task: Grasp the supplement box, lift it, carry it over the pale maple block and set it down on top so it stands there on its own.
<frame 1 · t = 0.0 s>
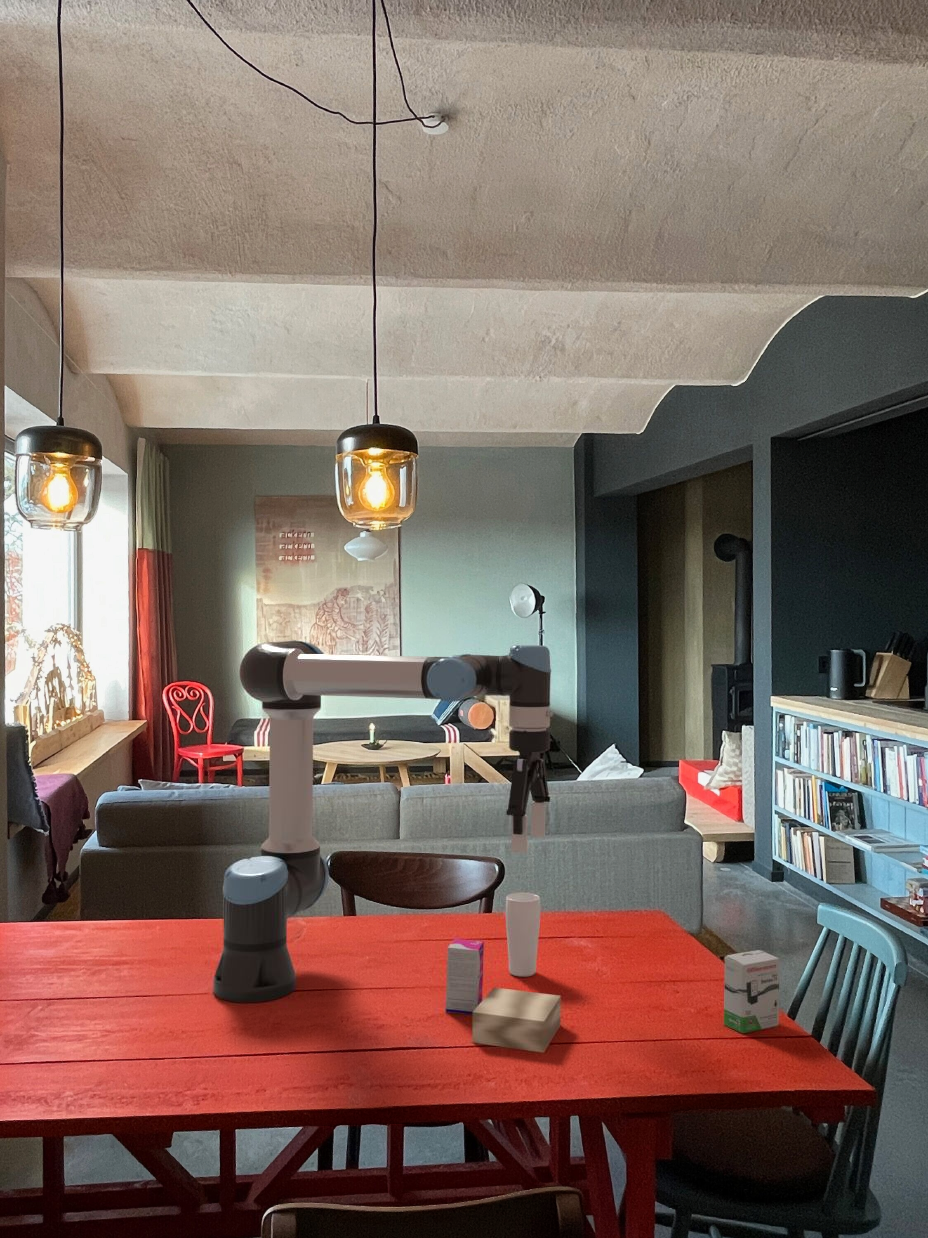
hand: (528, 844, 191), 28 cm above the table, fingers open, 13 cm apart
maple block: (517, 1033, 174), on the table
ink box: (751, 1026, 178), on the table
supplement box: (464, 1009, 185), on the table
drinking glass: (522, 974, 204), on the table
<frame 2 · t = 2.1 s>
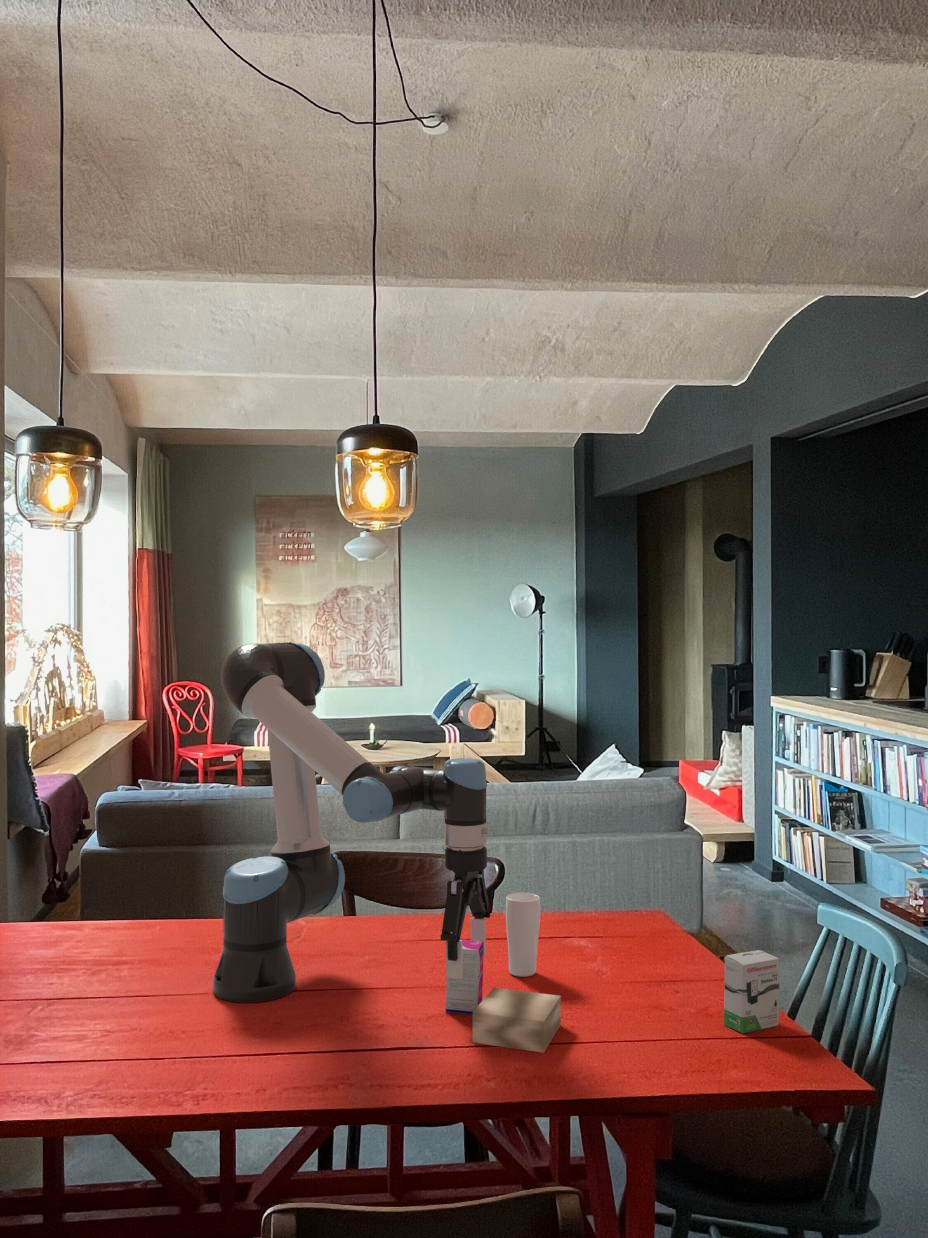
hand: (466, 966, 185), 8 cm above the table, fingers open, 13 cm apart
nothing on the table moved.
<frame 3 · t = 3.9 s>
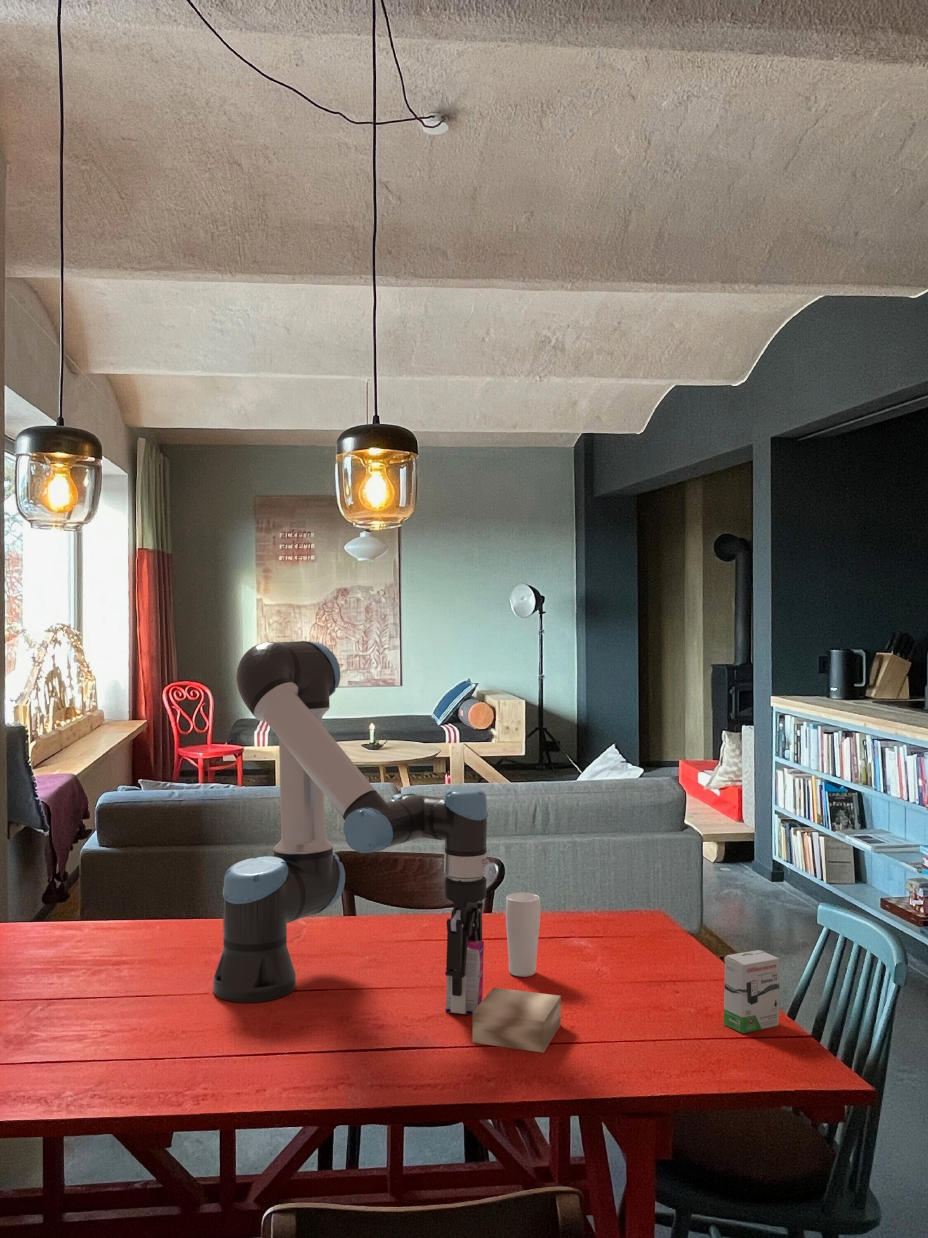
hand: (464, 1005, 185), 0 cm above the table, fingers closed on supplement box, 6 cm apart
supplement box: (464, 1009, 185), on the table, touching gripper
everything else where it was.
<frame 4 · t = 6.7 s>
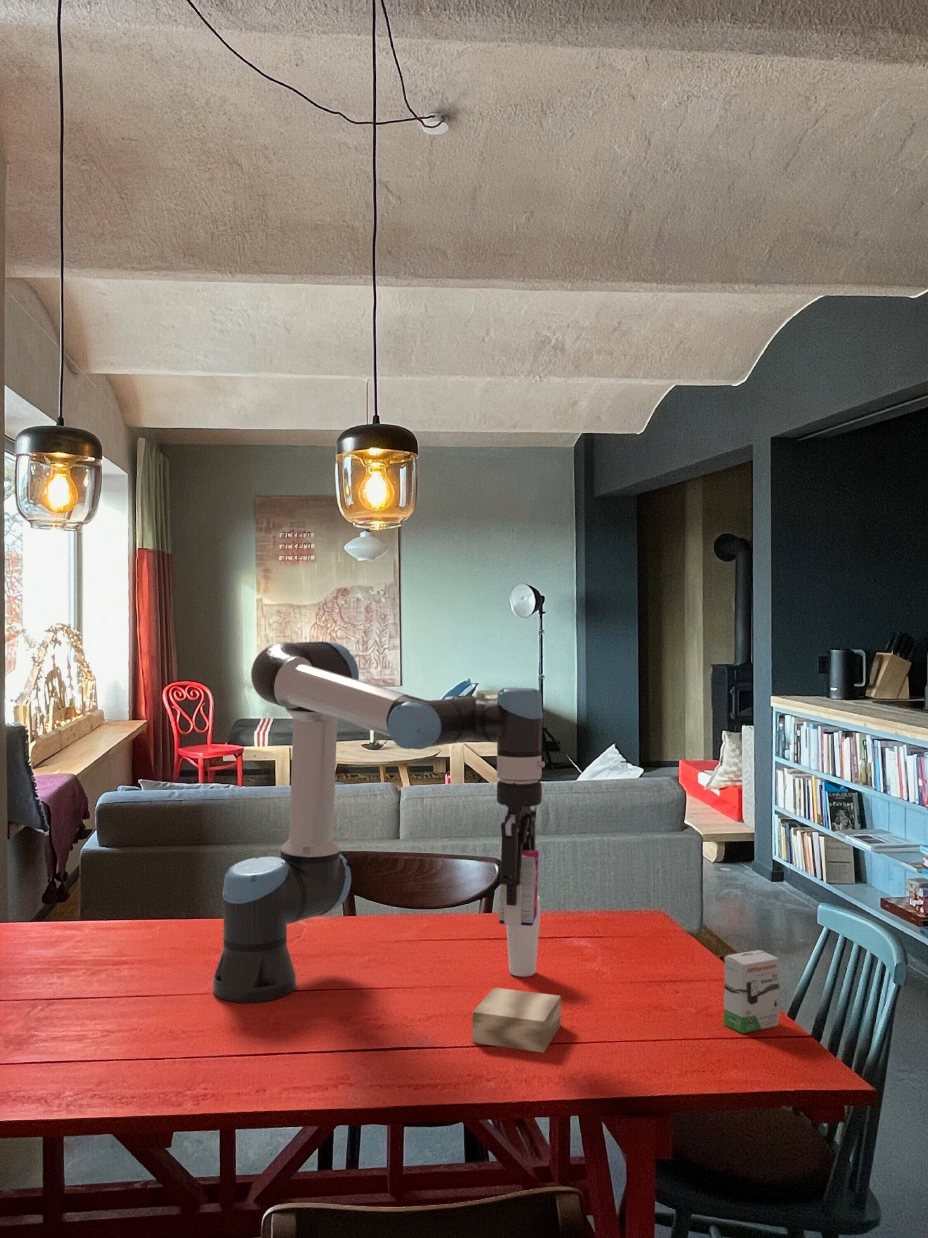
hand: (518, 918, 174), 19 cm above the table, fingers closed on supplement box, 6 cm apart
supplement box: (518, 921, 174), point 19 cm above the table, touching gripper
everything else where it was.
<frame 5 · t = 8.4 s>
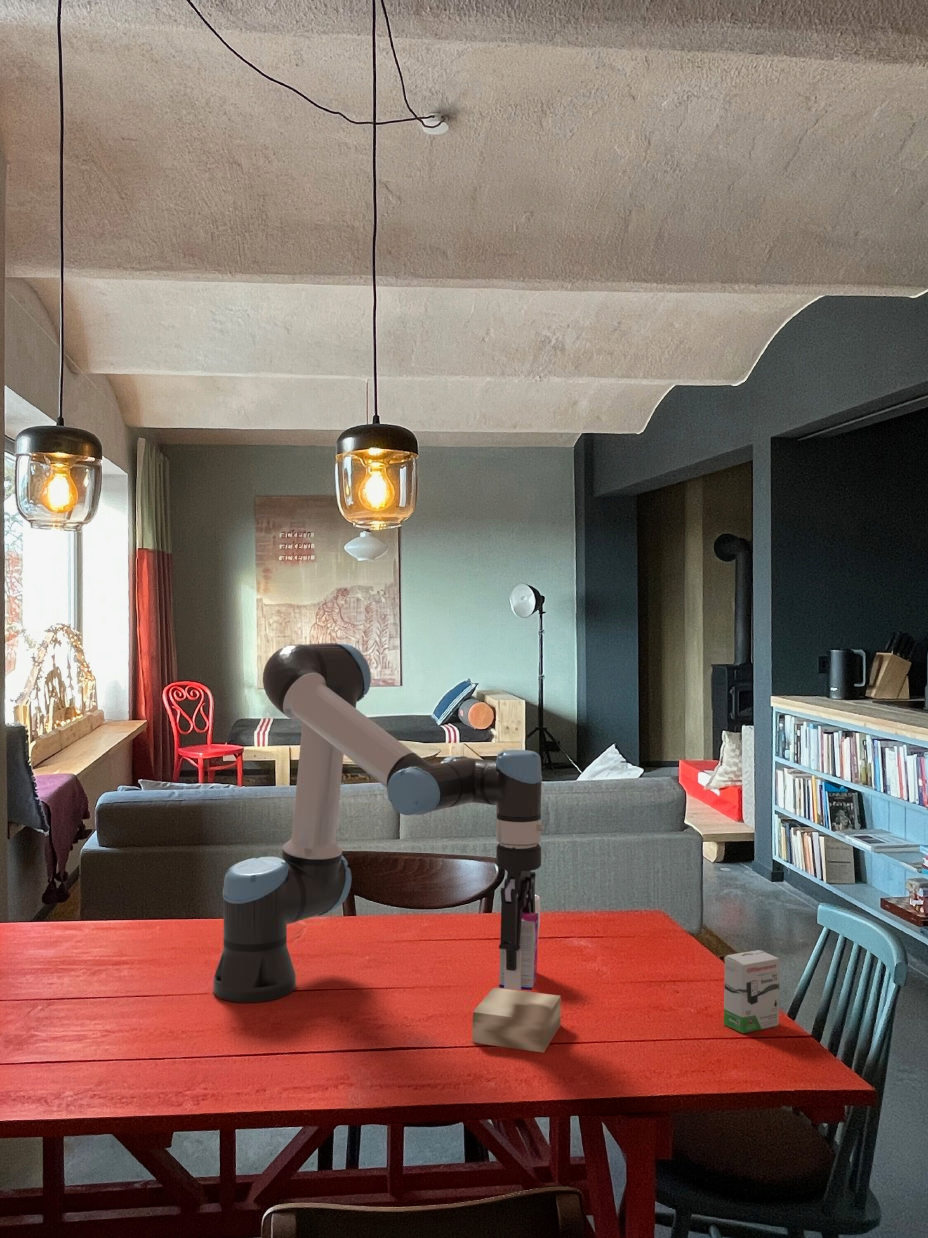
hand: (518, 981, 174), 9 cm above the table, fingers closed on supplement box, 6 cm apart
supplement box: (518, 985, 174), point 8 cm above the table, touching gripper
everything else where it was.
when the fingers open (7 cm above the table, at t = 9.6 s): supplement box drops 1 cm, resting on maple block.
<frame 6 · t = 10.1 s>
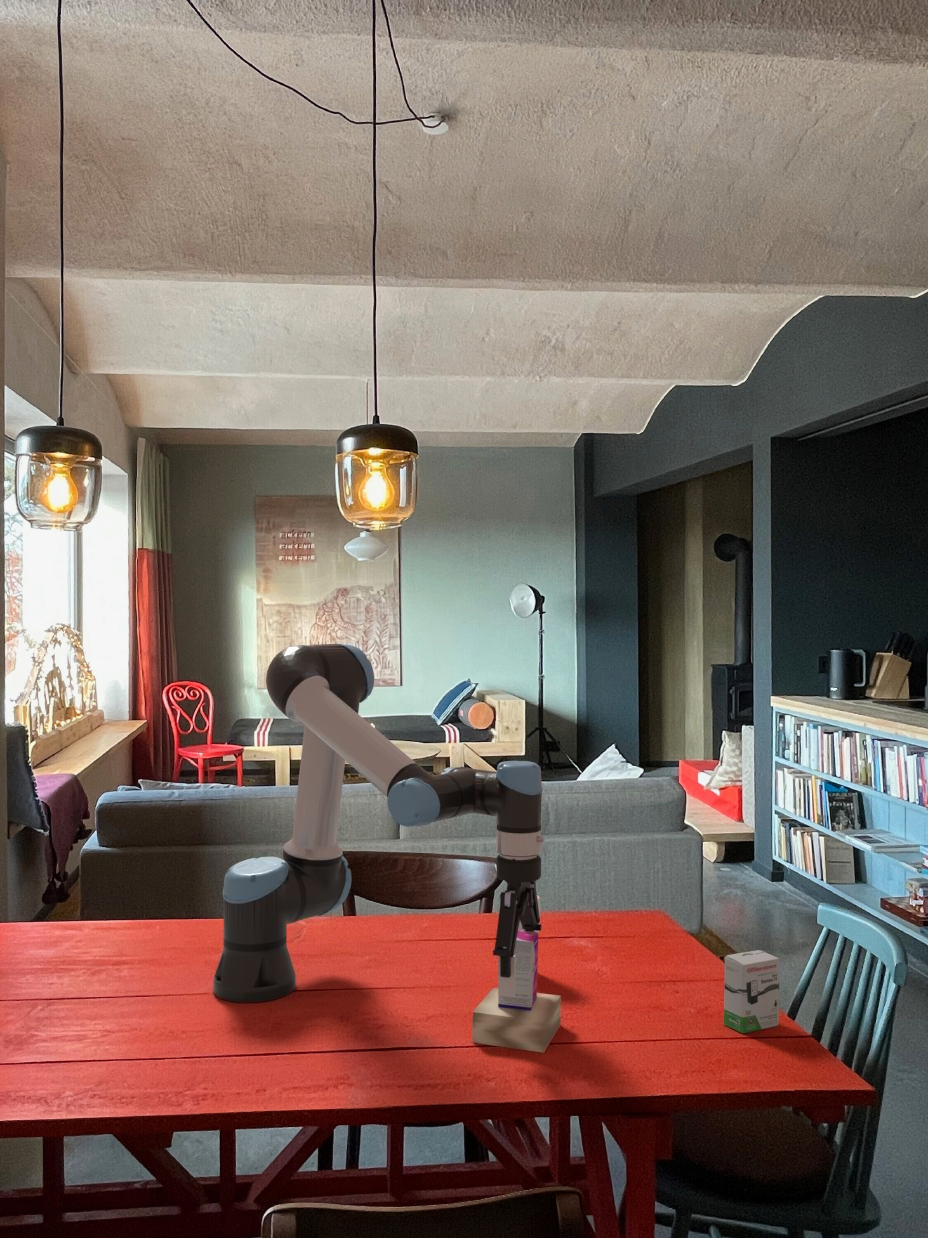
hand: (517, 982, 174), 9 cm above the table, fingers open, 13 cm apart
supplement box: (518, 1004, 174), point 5 cm above the table, touching maple block
everything else where it was.
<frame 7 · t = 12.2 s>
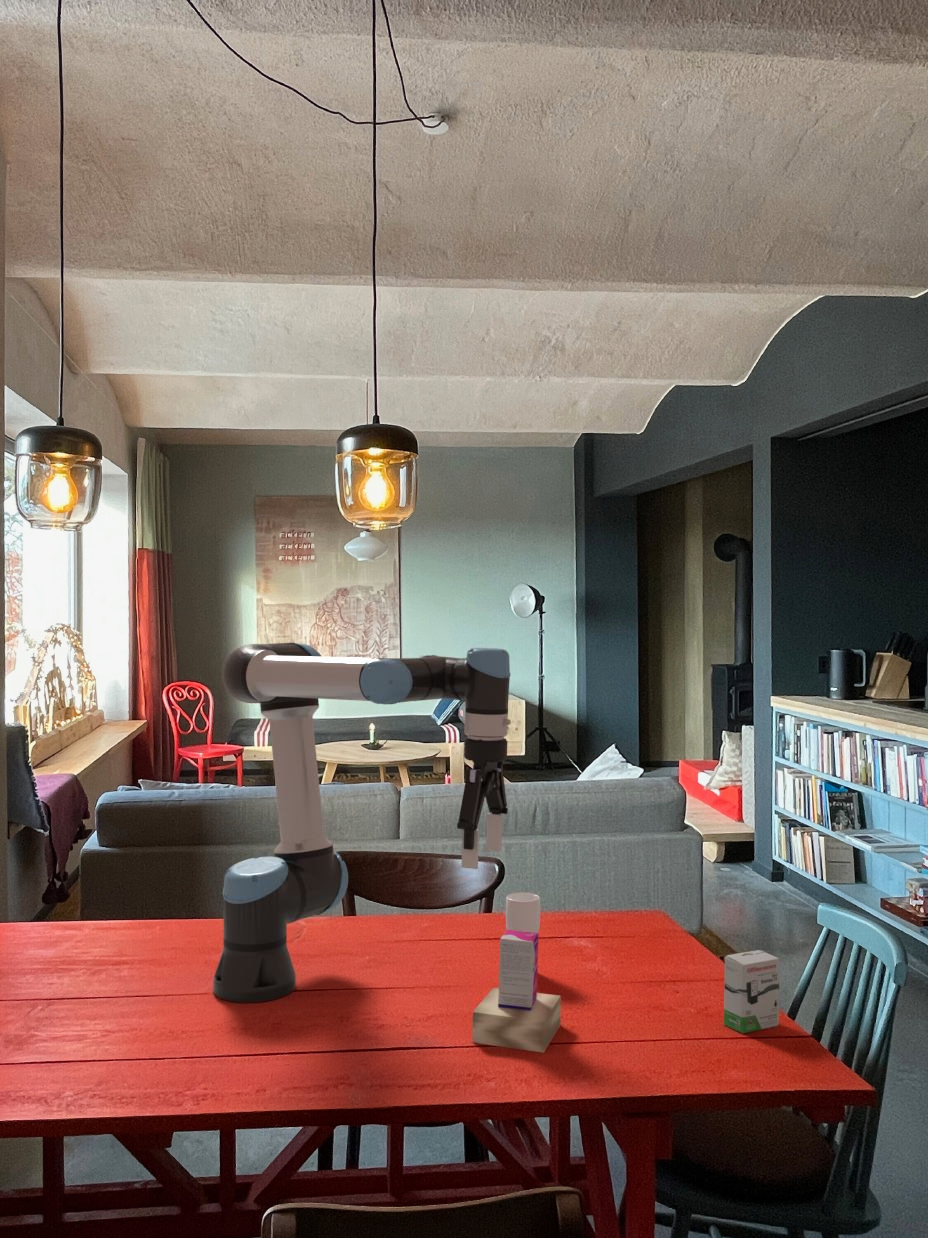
hand: (482, 859, 181), 28 cm above the table, fingers open, 13 cm apart
nothing on the table moved.
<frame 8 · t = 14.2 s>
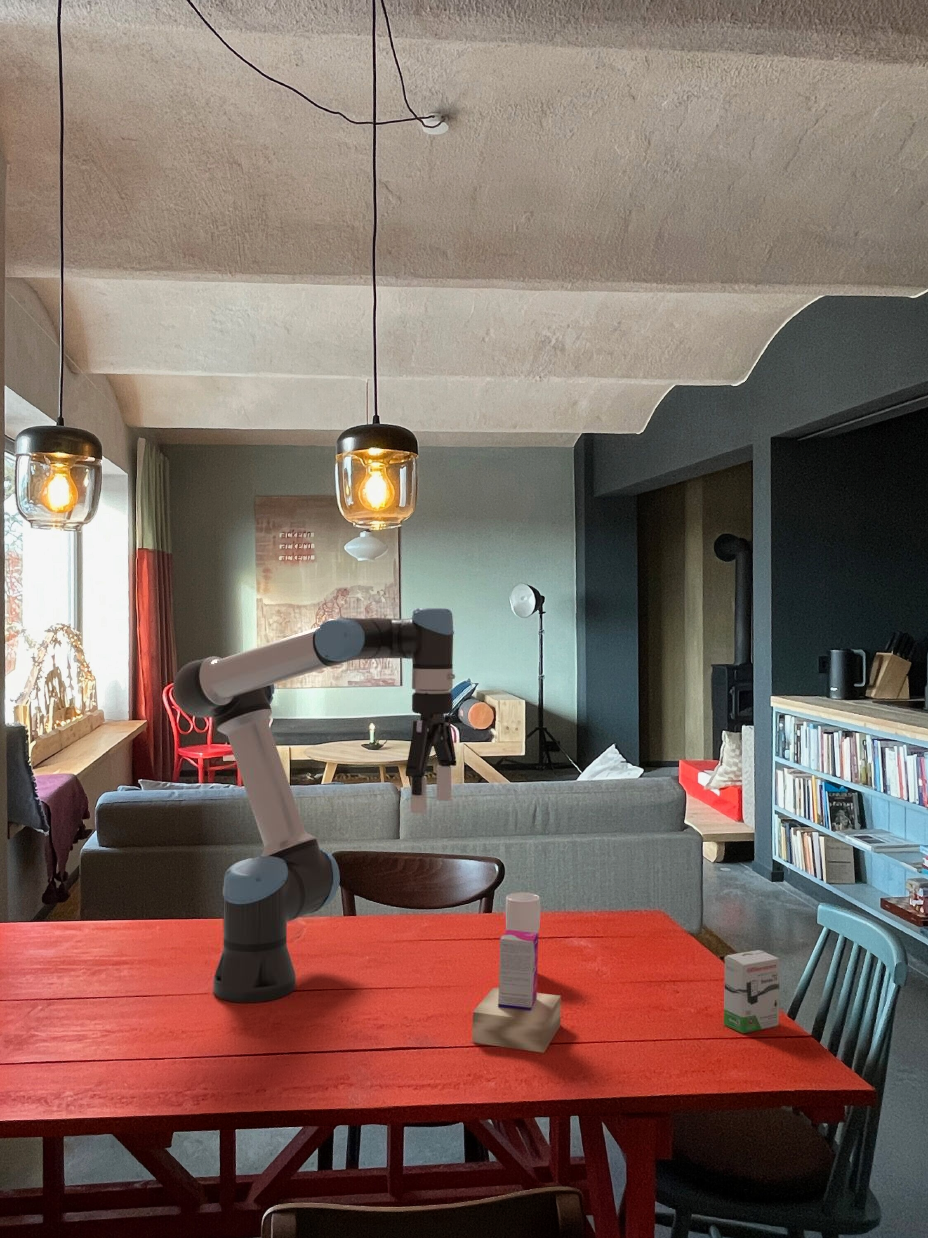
hand: (431, 806, 192), 35 cm above the table, fingers open, 13 cm apart
nothing on the table moved.
at the end: supplement box inside the target area on the maple block (0.2 cm from its centre), point 4.8 cm above the maple block's base; supplement box tilted 0°; supplement box touching maple block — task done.
